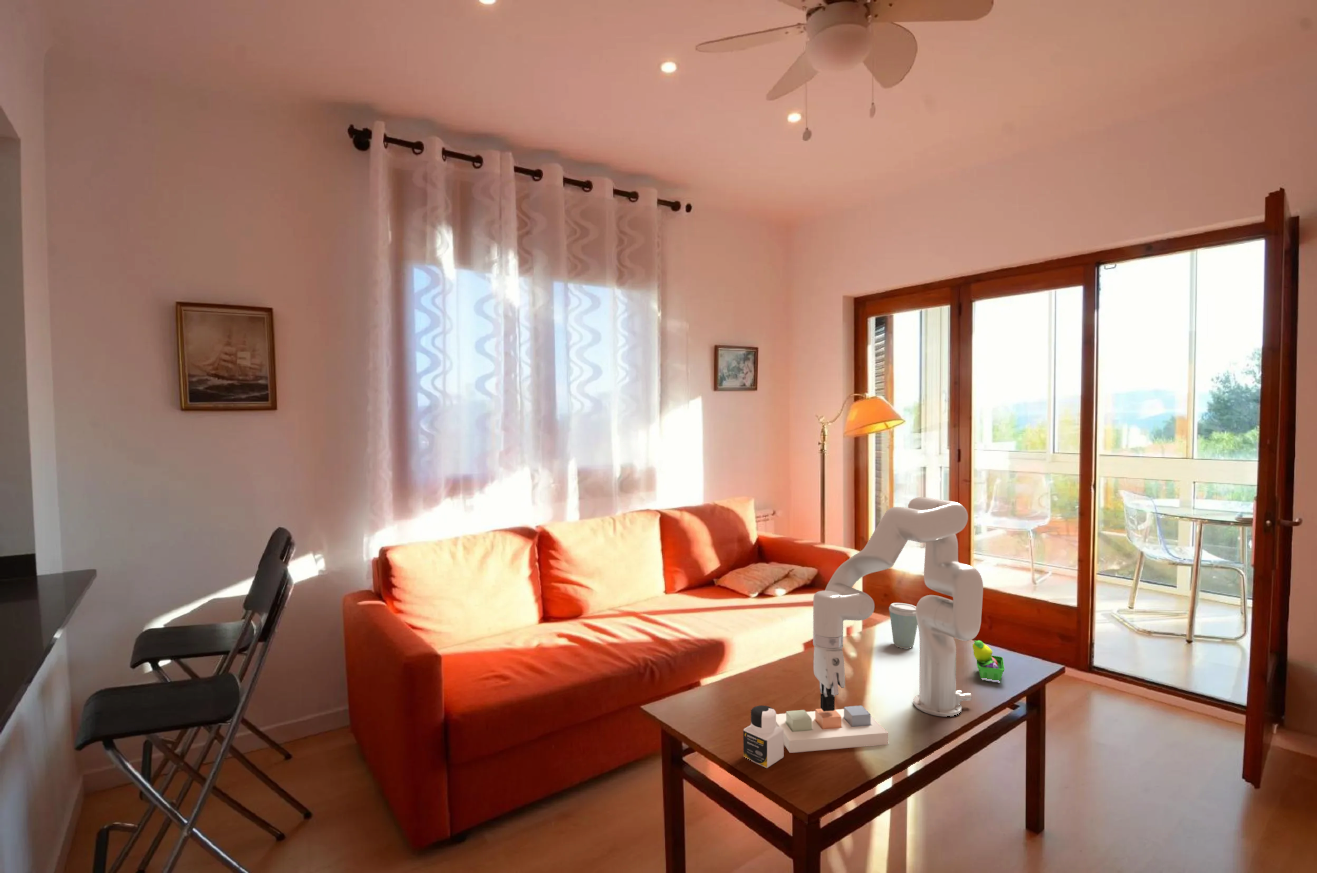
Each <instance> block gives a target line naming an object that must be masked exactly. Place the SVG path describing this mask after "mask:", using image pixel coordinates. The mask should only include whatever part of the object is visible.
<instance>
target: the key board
mask: <svg viewBox="0 0 1317 873" xmlns="http://www.w3.org/2000/svg"><path fill="white" fill-rule="evenodd" d="M835 710H836V711H837V712H838V713H839V714H840V716H841V728H833V729H821V727H820V726H819V725H818V724H817V722H816V721H815V710H813V711H812V710H811V711H806V712H807V714H808V715H809V716H810V717H811V719H812V730H809V731H796V732H792V731H791V729H790V728H789V727H788V725H787V724H786V712H785V713H776V726H777V727H780V728H782V729H783V730H784V748H786V749H787V751H788V752H789V753H793V754H794V753H804V752H814V751H827V750H839V749H848V748H849V749H851V748H860V747H861V748H862V747H873V746H885V745H889V731H887V730H886V729H885V727H883V726H882V725H881V724H880V723H879V722H878V721H877V720H876V719H875V718H874V717H873V716H872V715H871V725H870V726H858V727H851V726H850V725H849V723H848V722H847V721H846V720H845V719H844V708H839V709H835Z"/></svg>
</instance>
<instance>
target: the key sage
mask: <svg viewBox="0 0 1317 873" xmlns="http://www.w3.org/2000/svg"><path fill="white" fill-rule="evenodd" d="M807 712H808V711H806V710H805V709H800V710H788V711H787V710H786V711H785V713H786V724H787V725H788V727H789V728H790V729H791V731H792V732H796V731H809V730H812V719H811V717H810V716H809V715H808V714H807Z"/></svg>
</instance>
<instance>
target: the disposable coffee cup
mask: <svg viewBox="0 0 1317 873" xmlns="http://www.w3.org/2000/svg"><path fill="white" fill-rule="evenodd" d="M916 606H917V605H916ZM916 606H915V605H913V604H909V603H903V602H893V603H891V604H890V605H889V607H888V611H889V617H890V625H891V633H892V642H893V644H894V646H895V647H897V648H898V647H901V648H900V649H902V648H910V647H912V648H913V647H914V644H915V641H916V640H915V639H916V634H917V631H918V630H917V629H918V623H917V618H916Z"/></svg>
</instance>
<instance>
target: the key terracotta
mask: <svg viewBox="0 0 1317 873" xmlns="http://www.w3.org/2000/svg"><path fill="white" fill-rule="evenodd" d="M836 710H837V709H835V710H834V711H823V710H822V709H821V708H815V710H814V711H815V721H816V722H817V724H818V725H819V726H820V727H821V729H833V728H841V716H840V714H839V713H838V712H837V711H836Z"/></svg>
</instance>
